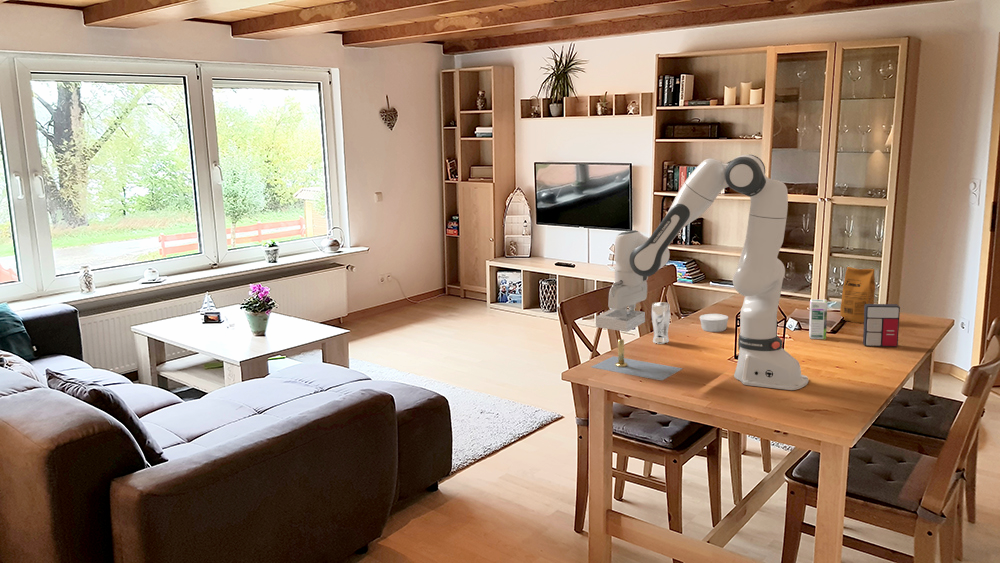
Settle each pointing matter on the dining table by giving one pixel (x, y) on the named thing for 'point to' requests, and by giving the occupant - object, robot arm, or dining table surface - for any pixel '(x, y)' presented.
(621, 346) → the brass peg
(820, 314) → the syrup box
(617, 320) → the grey recessed tray
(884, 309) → the calculator
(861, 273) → the coffee package
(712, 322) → the ramekin
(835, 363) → the dining table surface
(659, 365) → the keeper board
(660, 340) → the beer glass
